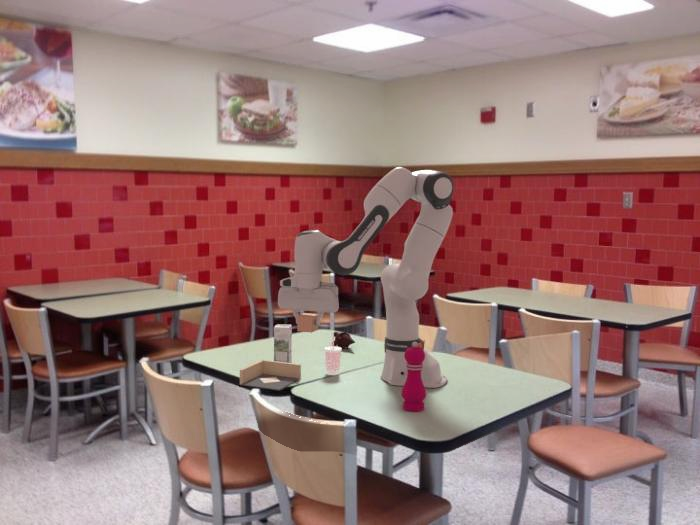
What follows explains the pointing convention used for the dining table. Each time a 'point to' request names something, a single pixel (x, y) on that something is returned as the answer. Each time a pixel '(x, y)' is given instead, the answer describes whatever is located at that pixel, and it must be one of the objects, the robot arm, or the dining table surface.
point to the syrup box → (283, 343)
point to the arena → (270, 375)
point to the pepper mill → (414, 380)
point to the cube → (306, 322)
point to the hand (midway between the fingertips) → (308, 324)
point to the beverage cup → (332, 359)
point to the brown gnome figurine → (343, 339)
